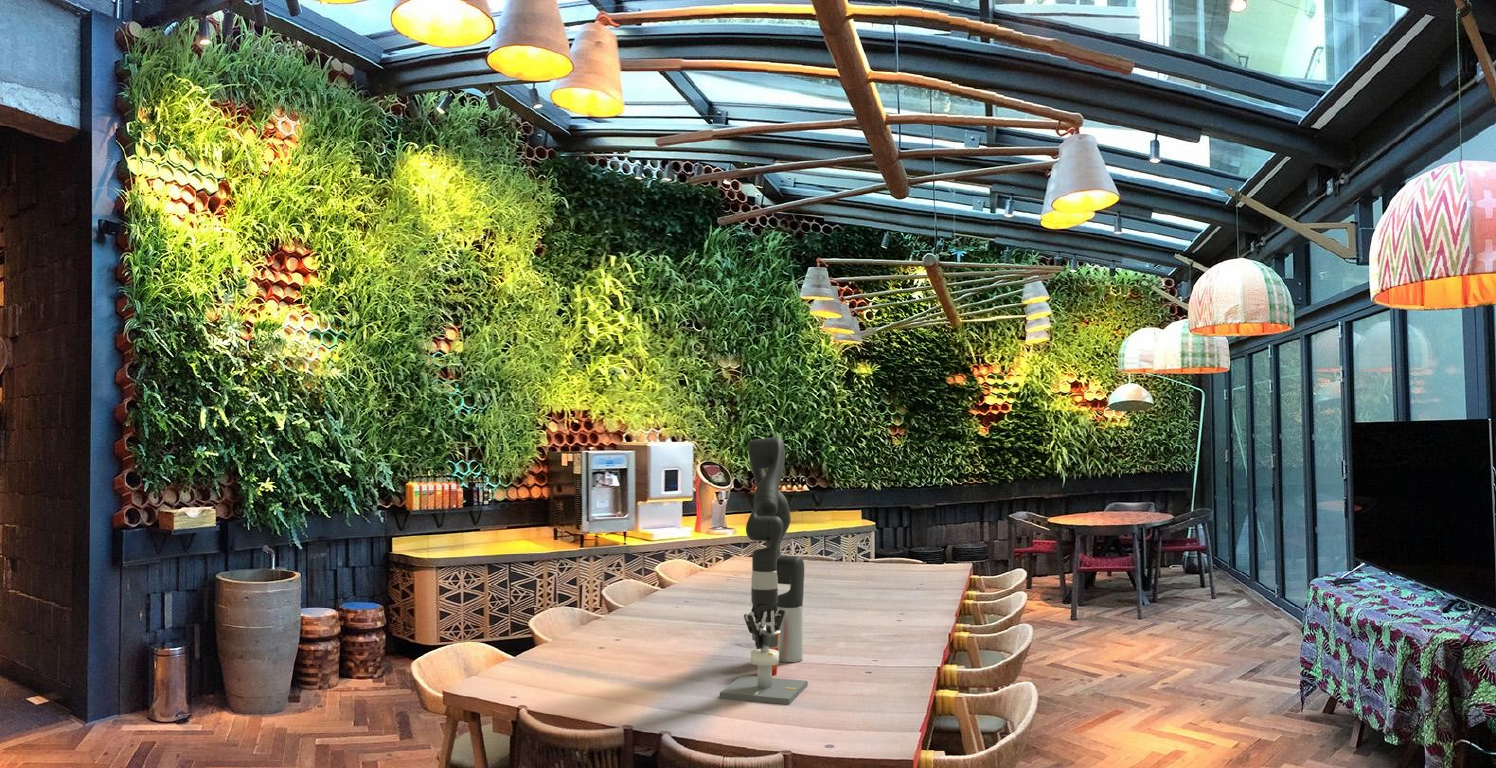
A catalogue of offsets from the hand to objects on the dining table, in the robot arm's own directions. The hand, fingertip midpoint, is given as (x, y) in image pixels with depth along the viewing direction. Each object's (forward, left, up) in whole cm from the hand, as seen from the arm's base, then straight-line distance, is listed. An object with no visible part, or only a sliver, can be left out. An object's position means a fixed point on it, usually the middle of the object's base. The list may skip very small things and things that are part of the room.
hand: (764, 647), depth 281 cm
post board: (0, 0, -13) cm, 13 cm away
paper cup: (-20, -5, -13) cm, 24 cm away
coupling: (0, 0, -4) cm, 4 cm away
